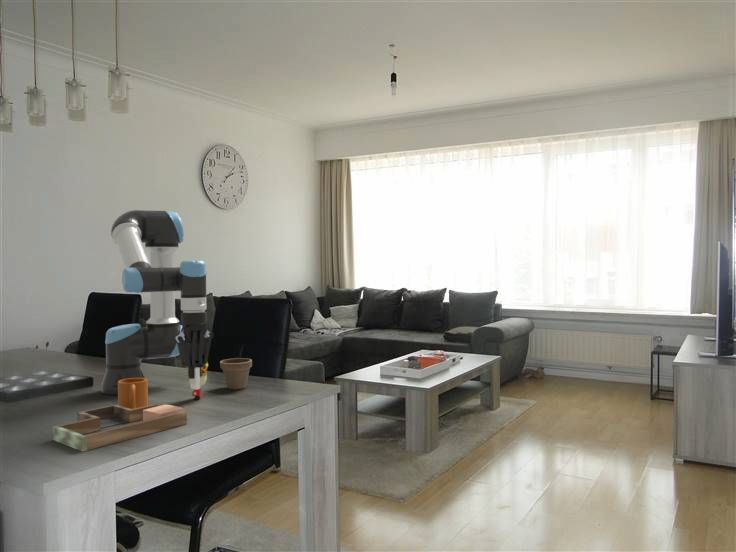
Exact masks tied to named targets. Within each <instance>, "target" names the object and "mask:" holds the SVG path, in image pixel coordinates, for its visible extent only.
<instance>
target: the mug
mask: <svg viewBox="0 0 736 552" xmlns="http://www.w3.org/2000/svg"><path fill="white" fill-rule="evenodd" d="M148 384H149V381H148V378H146V377H145V378H128V379H123V380H119V381H118V395H117V405H119V406H122V407H126V408H129V409H135V408H140V407H144V406H149V385H148Z"/></svg>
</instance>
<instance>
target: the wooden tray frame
mask: <svg viewBox="0 0 736 552" xmlns="http://www.w3.org/2000/svg"><path fill="white" fill-rule="evenodd" d="M157 406H159V404H157V403H154V404H148V406H144V407H140V408H135V409H129V408H126V407H122V406H119V405H118V404H112V405H106V406H100V407H97V408H92V409H91V408H90V409H87V410H83V411H78V412H77V414H76V415H77V416H76V417H77V419H76V420H77V421H72V422H69V423H64V424H60V425H55V426H52V440H53V441H54V442H57V443H60V444H62V445H65V446H67V447H70V448H73V449H75V450H76V451H80V452H82V453H83V452H87V451H90V450H93V449H97V448H102V447H105V446H108V445H113V444H117V443H120V442H124V441H128V440H131V439H136V438H139V437H143V436H147V435H151V434H154V433H158V432H162V431H166V430H170V429H174V428H177V427H181V426H184V425H185V426H186V425H187V424H188V417H187V415H188V413H187V411H185V410H184V411H183V412H179V413H175V414H171V415H167V416H163V417H158V418H154V419H150V420H146V421H143V410H145V409H149V408H153V407H157ZM126 423H129V424H126ZM121 424H126V425H123V426H118V427H114V428H110V429H106V430H102V431H101V429H105V428H109V427H113V426H117V425H121ZM93 432H94V433H93Z"/></svg>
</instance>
